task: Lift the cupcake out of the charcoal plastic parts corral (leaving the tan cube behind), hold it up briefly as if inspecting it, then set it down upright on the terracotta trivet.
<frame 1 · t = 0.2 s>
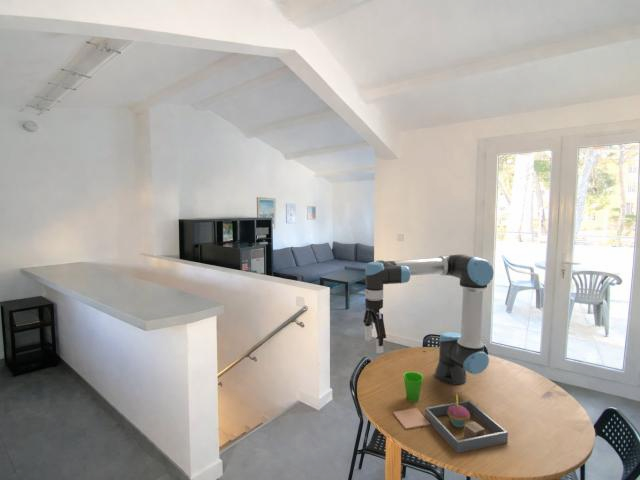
hand: (373, 346, 148), 28 cm above the table, fingers open, 13 cm apart
corral: (463, 428, 136), on the table
trivet: (411, 418, 142), on the table
cupcake: (458, 423, 139), resting in corral
tan cube: (473, 439, 130), resting in corral
cup: (412, 399, 157), on the table
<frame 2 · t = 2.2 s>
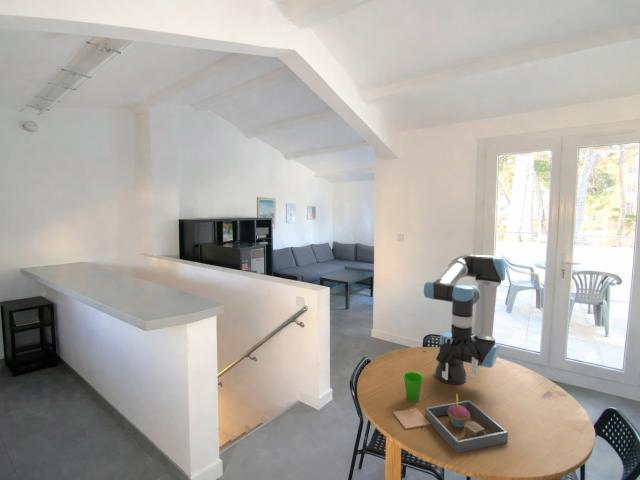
hand: (459, 376, 137), 20 cm above the table, fingers open, 13 cm apart
nothing on the table moved.
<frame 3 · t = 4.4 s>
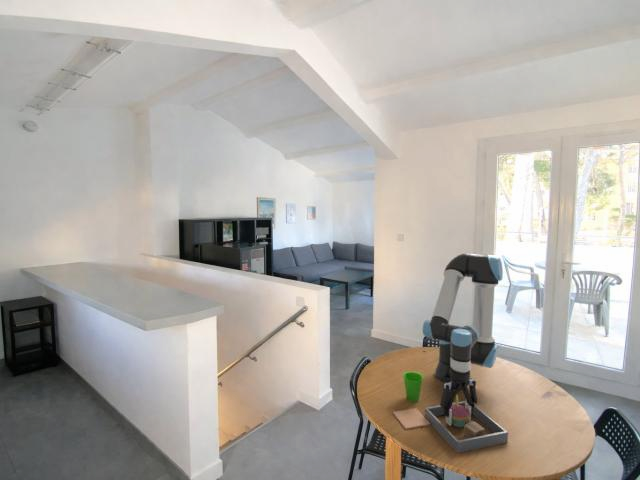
hand: (458, 421, 139), 1 cm above the table, fingers closed on cupcake, 8 cm apart
cupcake: (458, 423, 139), resting in corral, touching gripper
everything else where it was.
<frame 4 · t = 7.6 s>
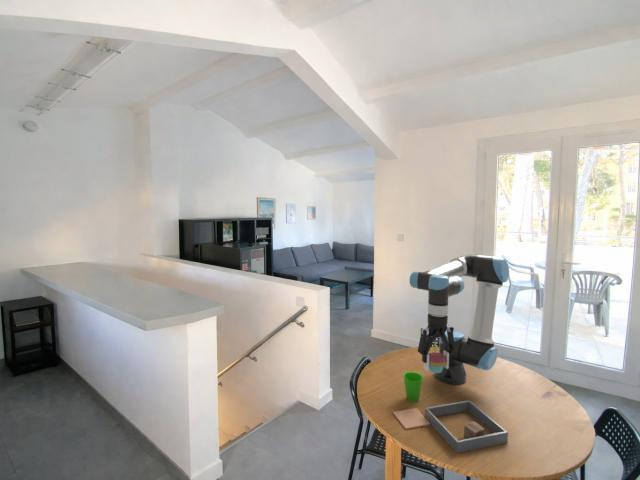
hand: (435, 368, 138), 23 cm above the table, fingers closed on cupcake, 8 cm apart
cupcake: (436, 370, 138), point 22 cm above the table, touching gripper
everything else where it was.
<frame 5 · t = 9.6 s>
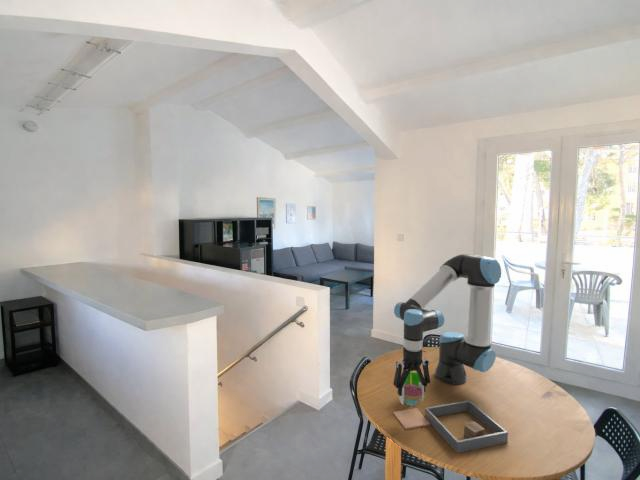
hand: (411, 400, 141), 8 cm above the table, fingers closed on cupcake, 8 cm apart
cupcake: (411, 403, 141), point 7 cm above the table, touching gripper
everything else where it was.
when the fingers open (3 cm above the table, at t = 11.0 s): cupcake drops 1 cm, resting on trivet.
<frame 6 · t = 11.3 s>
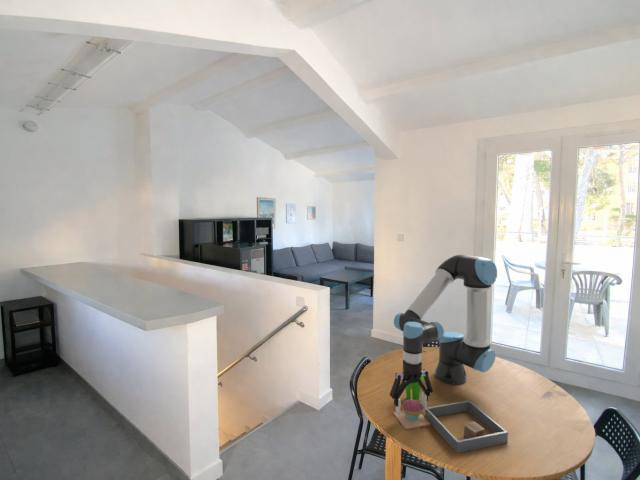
hand: (411, 410, 142), 4 cm above the table, fingers open, 11 cm apart
cupcake: (412, 417, 142), resting on trivet
everything else where it was.
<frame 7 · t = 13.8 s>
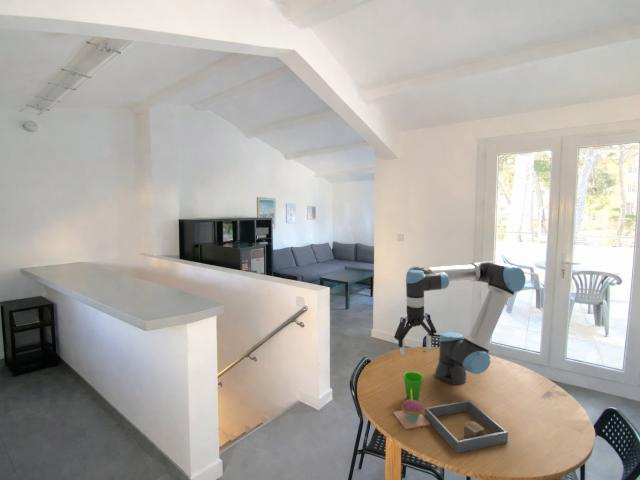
hand: (415, 351, 153), 23 cm above the table, fingers open, 13 cm apart
nothing on the table moved.
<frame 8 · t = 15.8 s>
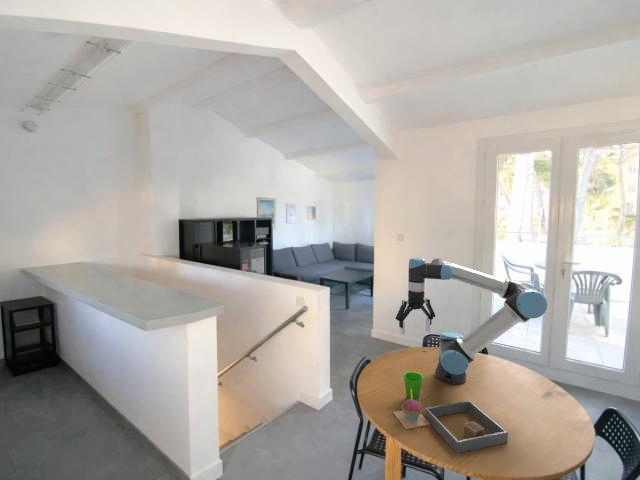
hand: (415, 332, 166), 27 cm above the table, fingers open, 13 cm apart
nothing on the table moved.
at the end: cupcake inside the target area on the trivet (0.4 cm from its centre), point 0.4 cm above the trivet's base; cupcake tilted 0°; tan cube moved 0.1 cm from its start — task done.
